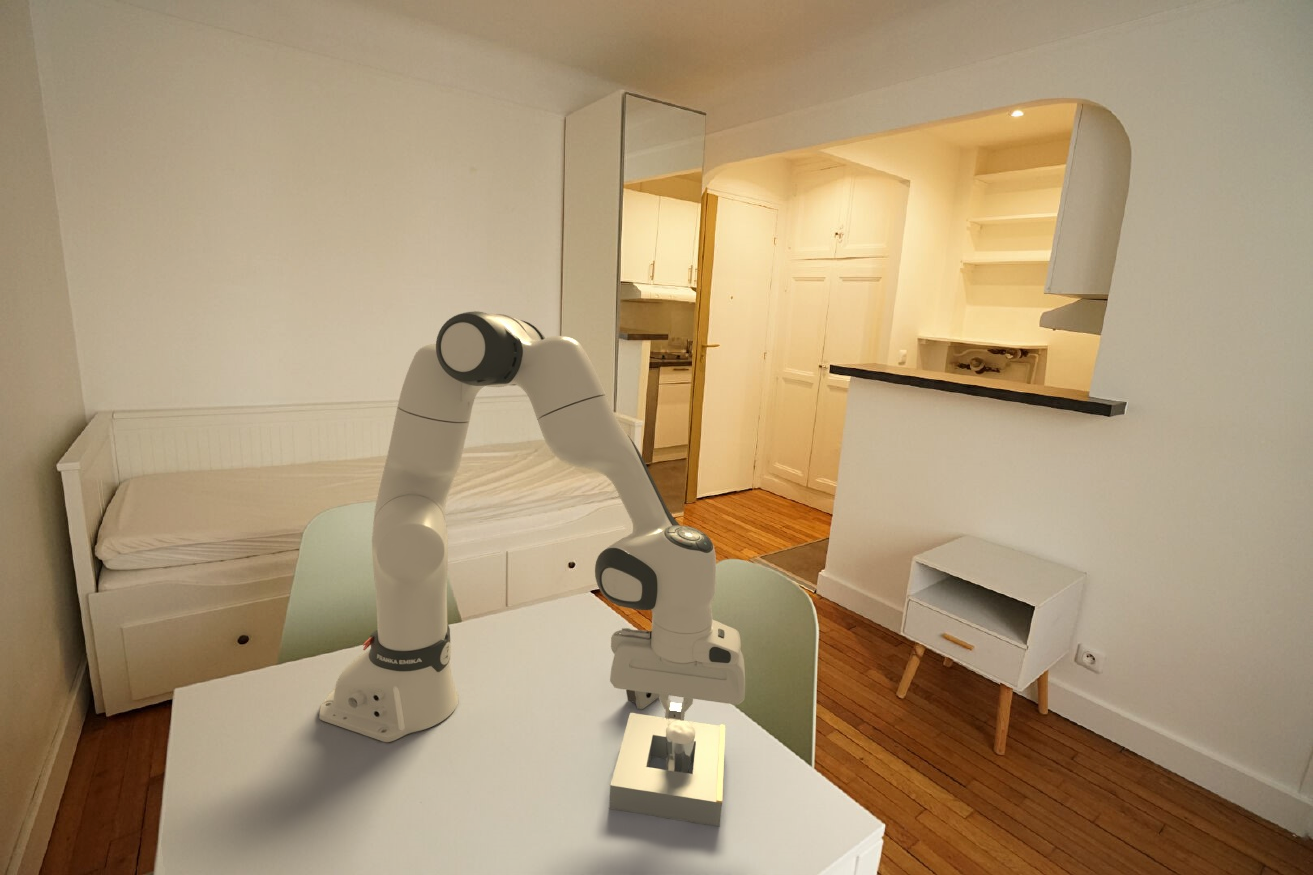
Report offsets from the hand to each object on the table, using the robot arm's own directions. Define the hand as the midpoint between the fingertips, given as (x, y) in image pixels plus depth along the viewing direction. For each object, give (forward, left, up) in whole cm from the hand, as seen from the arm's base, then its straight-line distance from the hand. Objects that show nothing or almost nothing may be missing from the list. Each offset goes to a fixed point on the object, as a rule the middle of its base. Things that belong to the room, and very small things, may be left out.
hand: (674, 717), depth 93 cm
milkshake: (+1, 0, -11) cm, 11 cm away
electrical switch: (-7, +19, -11) cm, 23 cm away
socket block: (0, 0, -10) cm, 10 cm away
